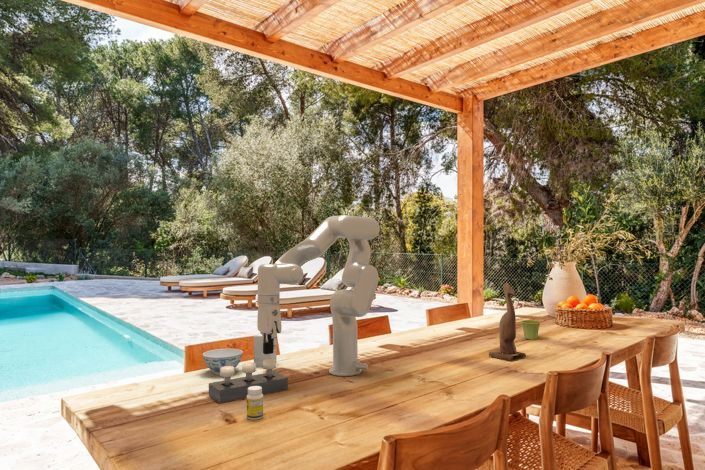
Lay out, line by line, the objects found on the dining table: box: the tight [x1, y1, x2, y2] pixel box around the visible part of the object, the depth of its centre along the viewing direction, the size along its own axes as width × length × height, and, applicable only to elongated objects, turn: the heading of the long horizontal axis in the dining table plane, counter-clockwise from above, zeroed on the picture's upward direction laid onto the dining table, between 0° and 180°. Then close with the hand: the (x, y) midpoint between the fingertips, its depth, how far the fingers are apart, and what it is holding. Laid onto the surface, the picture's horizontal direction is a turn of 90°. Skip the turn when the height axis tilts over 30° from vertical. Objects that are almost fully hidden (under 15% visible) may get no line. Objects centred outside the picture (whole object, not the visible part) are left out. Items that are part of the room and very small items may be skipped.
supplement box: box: [253, 333, 277, 368], centre depth 199 cm, size 7×7×13 cm
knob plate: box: [208, 370, 289, 404], centre depth 163 cm, size 24×10×4 cm, turn 125°
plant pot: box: [520, 319, 541, 341], centre depth 247 cm, size 9×9×9 cm
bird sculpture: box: [488, 282, 527, 362], centre depth 208 cm, size 11×12×32 cm
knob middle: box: [241, 362, 257, 382], centre depth 163 cm, size 4×4×6 cm
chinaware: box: [202, 348, 244, 376], centre depth 188 cm, size 15×15×8 cm
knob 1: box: [219, 366, 235, 386], centre depth 158 cm, size 4×4×6 cm
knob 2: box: [262, 359, 277, 378], centre depth 167 cm, size 4×4×6 cm
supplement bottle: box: [246, 386, 264, 421], centre depth 140 cm, size 5×5×8 cm
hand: (268, 353), depth 167 cm, fingers closed
